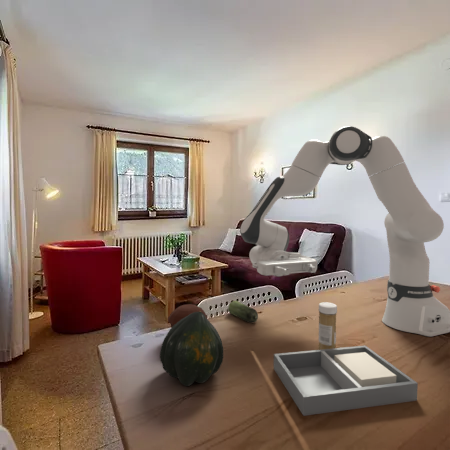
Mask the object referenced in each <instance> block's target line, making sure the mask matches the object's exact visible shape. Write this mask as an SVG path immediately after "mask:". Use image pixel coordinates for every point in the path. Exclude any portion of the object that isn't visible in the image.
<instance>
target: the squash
mask: <svg viewBox="0 0 450 450" xmlns="http://www.w3.org/2000/svg"><path fill="white" fill-rule="evenodd" d="M159 359H160V363H161V365H162V369H163V370H164V371H165V372H166V373H167V374H168V375H170V376H171V377H172V378H176V379H177V378H178V381H179V383H180V384H181V385H183V386H185V387H189V386H191V385H192V384H194V383H195V382H196V383H198V384H204V383H205V382H207V381H208V380H210V379H209V378H210V377H211V376H212V375H214V374H215V373H218V372H217V371H219V370H220V368H221V366H222V364H223V361H224V345H223V342H222V339H221V336H220V334H219V332H218V330H217V329H216V328H215V326H214V325H213V324H212V323H211V321H210V320H209V319H208V317H207V318H206V317H205V315H204V314H203V313H202V312H201V311H199V312H194V313H191V314H190V315H188V316H186V317H185V318H183V319H181V320H180V321H179V322H177V323H176V324H175V325H174V326H173V327H172V328H171V327H170V329H169V330H168V332H167V334H166V335H165V337H164V339H163V341H162V344H161V347H160V352H159Z"/></svg>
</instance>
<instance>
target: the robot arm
mask: <svg viewBox="0 0 450 450" xmlns="http://www.w3.org/2000/svg"><path fill="white" fill-rule="evenodd" d="M355 161H356V162H358V163H360V164H361V165H362V167H363V168H364V169H365V171H366V175H367V176H368V178H369V181H370V183H371V185H372V188H373V190H374V192H375V194H376V196H377V198H378V200H379V201H380V202H381V203H382V204H383V206H384V207H385V209H386V211H387V212H388V213H387V214H386V216H385V218H384V221H383V222H384V227H385V230H386V231H385V232H386V239H387V241H386V242H387V245H388V246H387V247H388V254H389V255H388V256H389V269H388V271H389V272H388V273H389V274H388V275H389V276H388V280H387V285H386V286H387V287H386V291H387V298H386V299H387V300H386V305H385V309H384V313H383V316H382V319H381V321H382V323H383V324H384V325H386V326H388V327H390V328H393V329H395V330H398V331H401V332H406V333H410V334H411V333H412V334H418V335H421V336H425V337H434V336H435V337H436V336H439V335H443V334H448V333H450V309H449V308H448V306H447V305H445V304H444V303H443V302H441V301H440V300H439V299H437V297H436V296H434V293H437V294H438V293H440V291H441V287H440V286H438V285H435V284H432V285H430V284H429V283H430V282H429V280H430V259H429V257H428V254H427V251H426V247H425V243H428V242H433V241H435V240H436V239H438V238H439V237H440V236H441V235H442V233H443V230H444V229H445V228H444V227H445V226H444V220H443V218H442V217H441V215H440V214H439V213H438V212H437V211H436V210H434V209H433V208H432V206H431V205H430V203H429V201H427V199H426V197H425V196H424V195H423V194H422V192H421V190H420V189H419V188H418V187H417V185H416V183H415V182H414V180H413V177H412V175H411V173H410V171H409V169H408V166H407V165H406V162H405V160H404V157H403V155H402V154H401V152H400V151H399V149H398V147H397V145H395V143H394V142H393V140H392V139H391V138H390V137H388V136H385V135H378V136H375V137H371V136H370V135H369V134H367V133H365V131H363V130H361V129H360V128H358V127H356V126H353V125H349V126H343V127H340V128H338V129H337V130H336V131H334V133H333V134H332V135H331V136H330V139H329V140H328V141H322V140H318V139H310V140H307V141H306V142H305V143H304V144H303V146H301V148H300V150H299V151H298V152H297V154H296V156H295V158H294V159H293V161H292V163H291V165H290V167H289V168H288V170H287V171H286V172H285V173H284V174H283V175H281V176H278V177H276V178H275V179H274V180H273V181H272V182H271V183H270V184H269V186H268V187H267V189H266V190H265V191H264V193H263V194H262V195H261V197H260V199H259V200H258V202H257V203H256V205H255V206H254V207H253V209H252V210H251V211H250V213H249V214H248V215H247V216H246V217H245V218H244V220H243V221H242V223H241V225H240V227H239V233H240V236H241V238H242V239H243V241H244V242H245V243H248V244H253V245H255V246H253V247H252V248H251V249H250V251H249V253H248V254H249V255H248V256H249V257H248V258H249V260H250V262H251V266H252V268H254V269H256V271H257V273H259V274H260V275H262V276H267V277H268V276H274V277H283V276H289V275H291V274H299V273H311V274H313V273H314V274H315V273H316V272H317V270H318V260H316V259H314V258H312V257H309V256H307V255H302V254H301V253H300V252H295V251H294V252H293V251H292V252H291V251H287V249H288V247H289V244H290V233H289V230H288V229H287V227H286V226H284V225H281V224H278V223H275V222H273V221H269V220H267V219H265V218H266V217H267V215H268V213H269V212H270V210H271V209H272V208H273V206H274V205H275V203H276V202H277V201H278V200H279V199H282V198H285V197H302V196H305V195H308V194H310V193H312V192H313V191H314V190H315V189H316V187H317V186H318V184H319V181H320V179H321V177H322V175H323V173H324V171H325V169H326V168H327V167H328V166H329V165H337V166H347V165H349V164H352V163H353V162H355ZM433 292H434V293H433Z"/></svg>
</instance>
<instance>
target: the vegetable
mask: <svg viewBox="0 0 450 450" xmlns="http://www.w3.org/2000/svg"><path fill="white" fill-rule="evenodd" d="M227 309H228V313H229V314H230V315H233V316H235V317H238V318H239V319H241V320H243V321H245V322H247V323H251V324H254V323H255V322H256V323H257V320H258V319H259V314H258V311H257V310H256V309H255V308H253V307H251V306H247V305H246V304H243V303H242V302H240V301H238V300H233V301H231V302H230V303H229V304H228V308H227Z"/></svg>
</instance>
